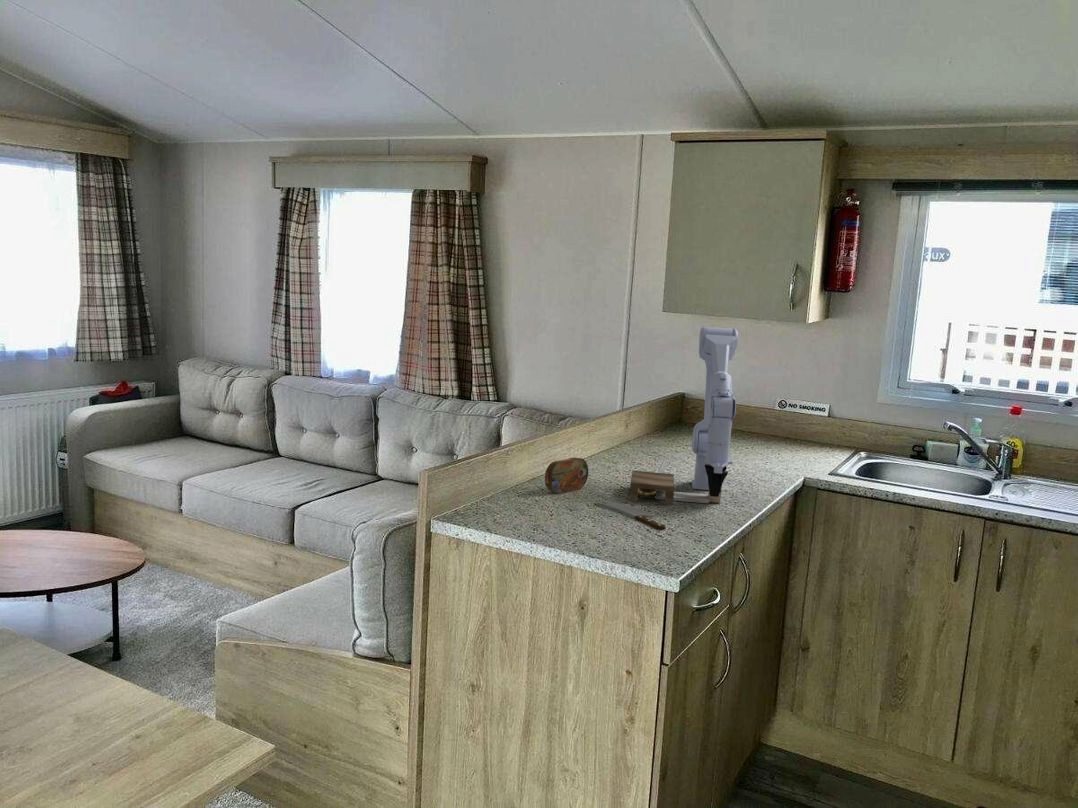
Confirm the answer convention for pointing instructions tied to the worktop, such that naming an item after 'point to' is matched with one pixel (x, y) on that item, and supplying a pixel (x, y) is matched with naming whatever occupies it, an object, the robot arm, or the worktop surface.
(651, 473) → the low shelf
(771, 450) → the worktop surface
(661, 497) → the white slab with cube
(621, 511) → the kitchen knife
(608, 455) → the worktop surface
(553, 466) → the tin
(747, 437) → the worktop surface
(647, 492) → the brass token
